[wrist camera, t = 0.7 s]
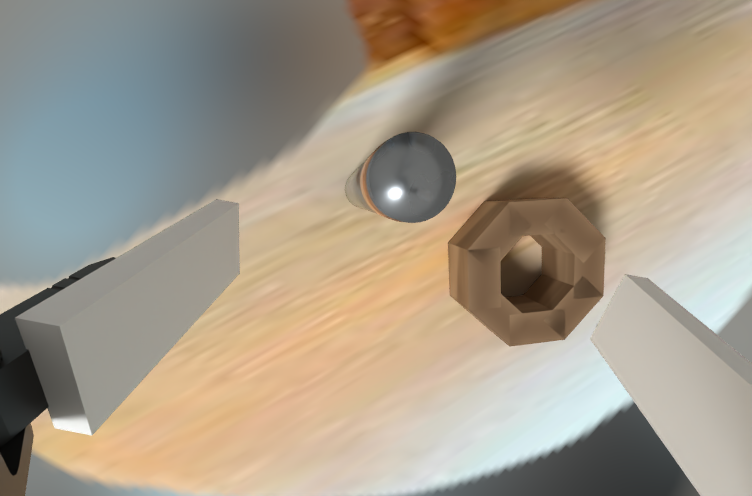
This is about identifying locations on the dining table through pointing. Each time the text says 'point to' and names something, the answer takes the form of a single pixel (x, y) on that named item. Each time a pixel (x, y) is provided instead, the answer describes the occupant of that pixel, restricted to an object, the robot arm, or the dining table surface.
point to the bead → (559, 268)
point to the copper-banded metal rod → (404, 179)
